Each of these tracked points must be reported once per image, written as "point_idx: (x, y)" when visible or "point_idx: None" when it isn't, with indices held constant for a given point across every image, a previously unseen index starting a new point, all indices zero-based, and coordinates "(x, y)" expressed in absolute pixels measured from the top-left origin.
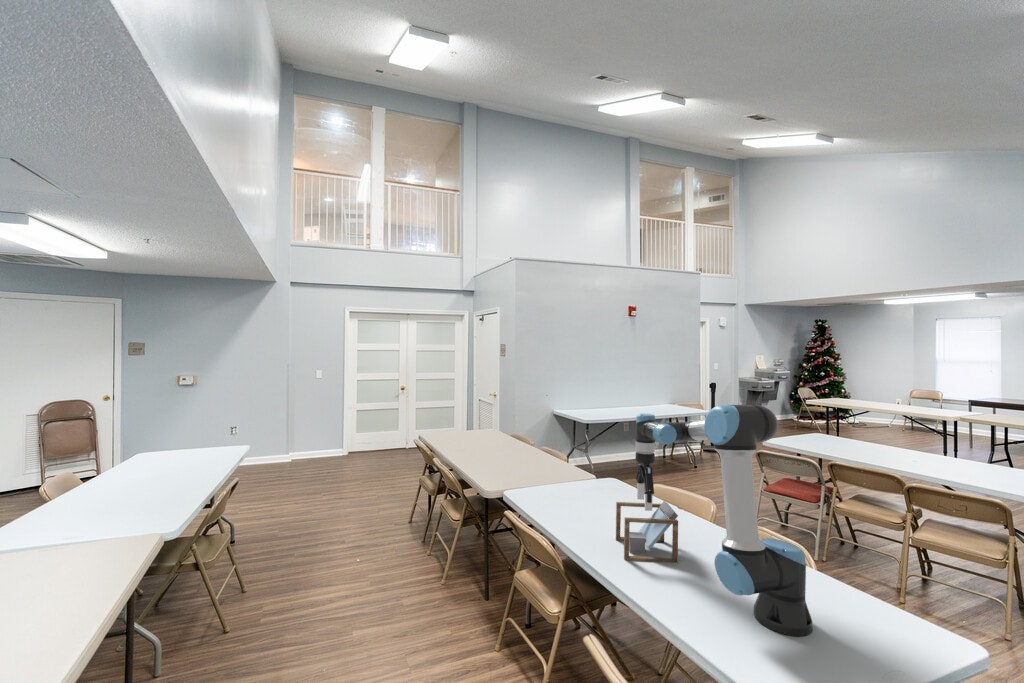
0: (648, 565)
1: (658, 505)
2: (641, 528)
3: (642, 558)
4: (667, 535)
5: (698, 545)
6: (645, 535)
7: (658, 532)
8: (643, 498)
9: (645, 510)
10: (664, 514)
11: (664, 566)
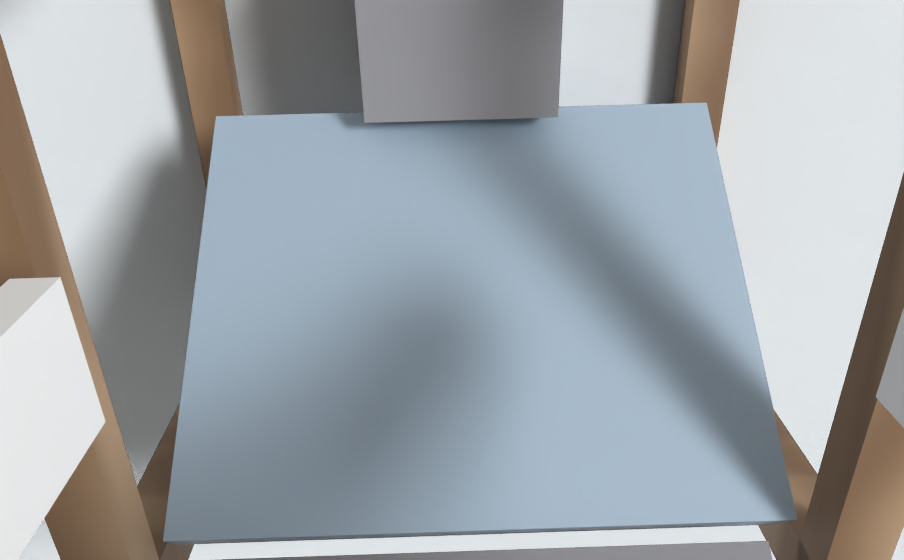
0: (109, 58)
1: (826, 539)
2: (701, 141)
3: (173, 17)
4: (812, 372)
5: (603, 530)
6: (472, 145)
7: (231, 306)
8: (892, 402)
9: (12, 285)
10: (475, 531)
11: (139, 204)
